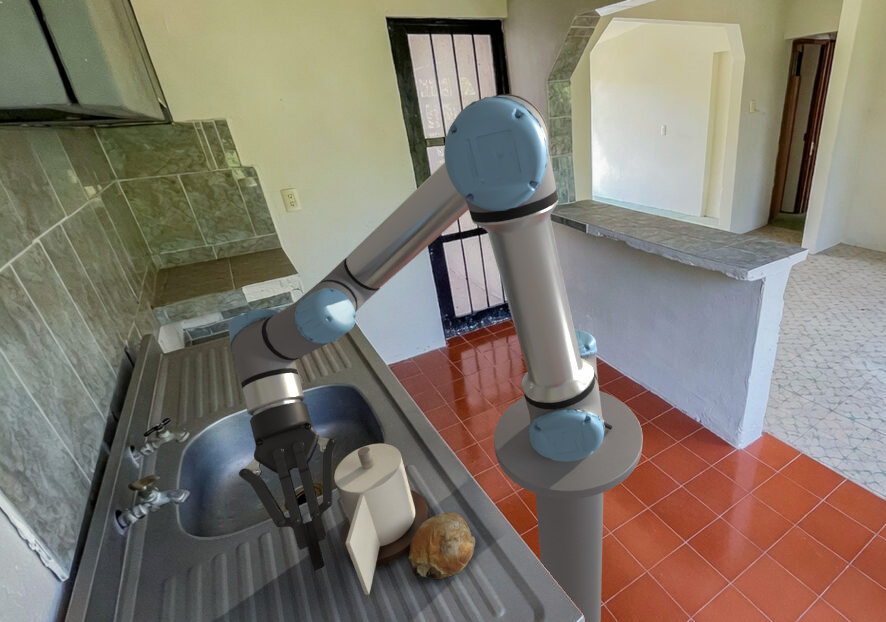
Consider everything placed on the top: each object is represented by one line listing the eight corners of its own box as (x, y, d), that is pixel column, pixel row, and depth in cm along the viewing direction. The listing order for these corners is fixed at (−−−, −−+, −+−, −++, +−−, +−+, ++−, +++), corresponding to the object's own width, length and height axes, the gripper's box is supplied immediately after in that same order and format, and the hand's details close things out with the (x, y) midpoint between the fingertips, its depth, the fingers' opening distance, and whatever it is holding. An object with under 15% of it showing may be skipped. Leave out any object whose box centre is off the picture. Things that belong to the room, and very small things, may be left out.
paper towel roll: (372, 493, 82) (356, 441, 76) (424, 498, 81) (412, 446, 75) (312, 589, 67) (286, 533, 61) (375, 598, 65) (354, 542, 59)
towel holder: (427, 485, 85) (410, 412, 77) (430, 551, 73) (411, 473, 65) (348, 504, 82) (322, 430, 74) (337, 577, 70) (305, 498, 62)
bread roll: (478, 578, 73) (493, 536, 71) (419, 599, 66) (433, 553, 64) (451, 535, 80) (464, 496, 78) (395, 549, 73) (407, 507, 71)
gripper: (325, 399, 75) (366, 544, 70) (233, 427, 69) (271, 588, 64) (323, 390, 69) (368, 548, 64) (221, 420, 62) (262, 597, 57)
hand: (319, 568), depth 64 cm, fingers closed
